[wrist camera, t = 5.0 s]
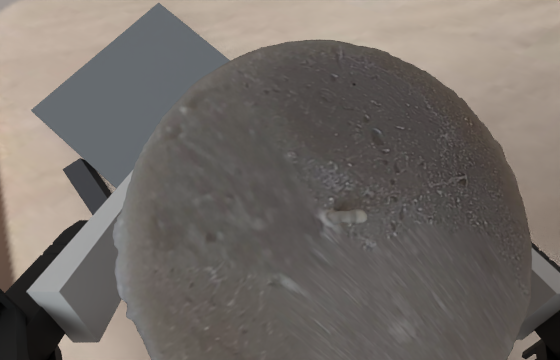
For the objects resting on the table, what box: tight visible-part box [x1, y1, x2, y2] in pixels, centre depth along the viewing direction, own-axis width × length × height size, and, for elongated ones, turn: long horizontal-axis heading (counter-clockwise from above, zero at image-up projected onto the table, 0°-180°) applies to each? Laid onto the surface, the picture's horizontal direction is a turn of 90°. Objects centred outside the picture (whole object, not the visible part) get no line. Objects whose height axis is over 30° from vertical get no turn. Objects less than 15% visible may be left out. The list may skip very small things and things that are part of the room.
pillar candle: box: [112, 40, 532, 360], centre depth 12 cm, size 10×10×15 cm
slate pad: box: [31, 3, 230, 189], centre depth 20 cm, size 13×13×1 cm
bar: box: [63, 158, 112, 215], centre depth 18 cm, size 1×16×1 cm, turn 38°
